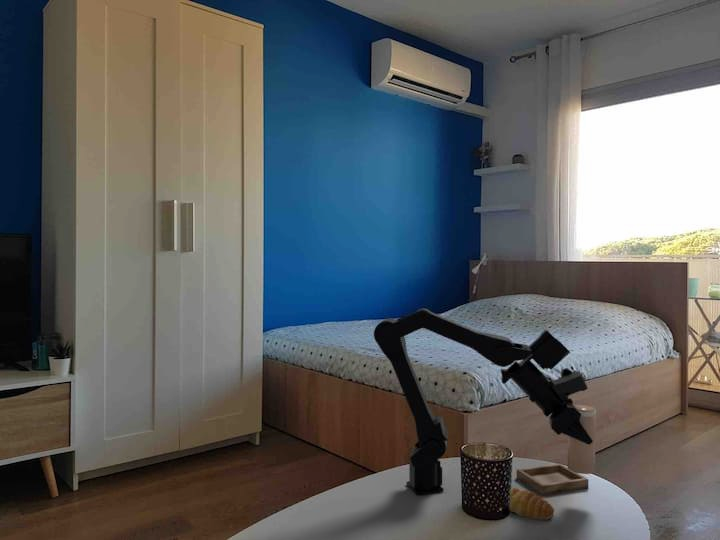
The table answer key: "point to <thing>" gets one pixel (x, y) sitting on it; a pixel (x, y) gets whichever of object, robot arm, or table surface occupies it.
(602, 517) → the table surface
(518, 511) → the pastry
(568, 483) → the tray
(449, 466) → the table surface
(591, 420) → the tumbler
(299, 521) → the table surface
